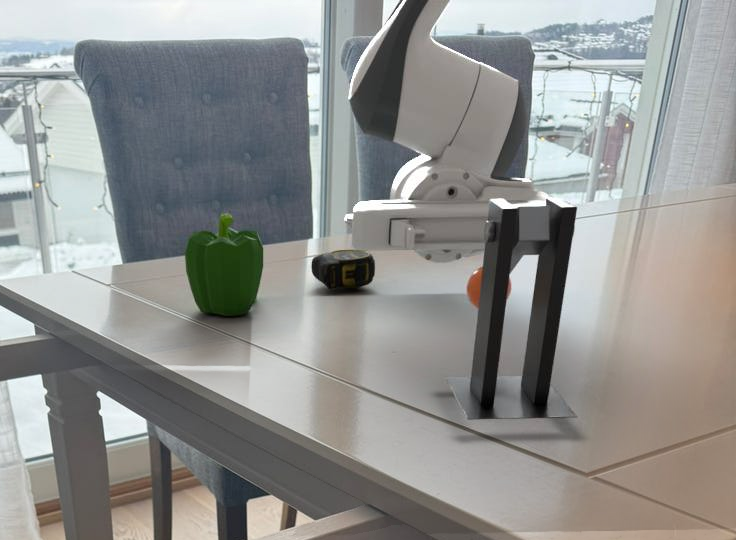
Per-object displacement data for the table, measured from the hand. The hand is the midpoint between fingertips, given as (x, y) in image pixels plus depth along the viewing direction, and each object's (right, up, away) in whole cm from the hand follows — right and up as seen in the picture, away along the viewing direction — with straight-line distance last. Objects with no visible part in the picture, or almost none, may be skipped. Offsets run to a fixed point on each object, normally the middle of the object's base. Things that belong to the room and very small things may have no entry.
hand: (469, 239), depth 84 cm
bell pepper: (-23, -1, +17) cm, 28 cm away
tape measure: (-9, +5, +25) cm, 27 cm away
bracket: (0, -18, -12) cm, 22 cm away
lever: (0, -9, -12) cm, 15 cm away
